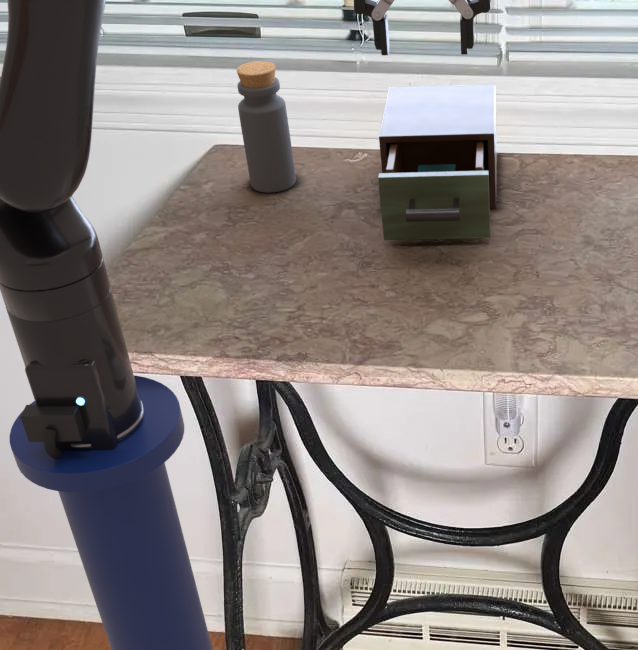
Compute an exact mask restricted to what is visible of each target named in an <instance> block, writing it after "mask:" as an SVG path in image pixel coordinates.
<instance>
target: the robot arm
mask: <svg viewBox="0 0 638 650" xmlns="http://www.w3.org/2000/svg"><path fill="white" fill-rule="evenodd" d="M106 1H107V0H7V15H8V17H7V19H8V20H7V36H6V45H5V51H4V57H3V65H2V69H1V74H0V75H1V76H0V294H1V297H2V300H3V304H4V306H5V310H6V313H7V316H8V319H9V322H10V324H11V327H12V328H11V329H12V331H13V334H14V337H15V340H16V344H17V346H18V349H19V352H20V355H21V358H22V361H23V364H24V368H25V369H24V372H25V375H26V378H27V381H28V384H29V387H30V390H31V393H32V397H33V399H34V401H35V402H36V405H30V404H26V405H25V407H24V408H23V410H22V411H23V412H22V411H21V412H22V414H21V413H20V414H21V416H20V418H21V421H22V424H23V427H24V430H25V432H26V435H27V438H28V441H29V442H44V447H45V451H46V453H47V454H48V455H49V456H51V457H52V458H53V459H58V458H60V457H61V455H62V452H61V451H73V450H80V451H83V450H114V449H115V448H116V446H117V444H118V443H119V442H120V441H122V440H124V439H125V438H127V437H129V436H130V435H131V434H133V433H134V432H135V431H136V430H137V429H138V428H139V426H140V425H141V424H142V422H143V419H144V415H145V413H144V408H143V404H142V401H141V400H140V397H139V393H138V389H137V385H136V381H135V377H134V376H135V374H134V371H133V367H132V363H131V359H130V356H129V352H128V348H127V344H126V341H125V336H124V332H123V329H122V325H121V321H120V317H119V314H118V310H117V306H116V302H115V299H114V295H113V291H112V287H111V282H110V279H109V278H110V277H109V274H108V272H107V271H108V270H107V266H106V263H105V259H104V257H103V252H102V249H101V248H102V247H101V244H100V240H99V237H98V233H97V232H96V229H95V227H94V226H93V223H91V221H90V220H89V219H88V217H87V216H86V215H85V214H84V213H83V211H82V209H81V208H80V207H79V205H78V203H77V202H76V200H75V198H74V197H73V195H74V194H75V193H76V191H77V190H78V189H79V187H80V185H81V183H82V181H83V180H84V177H85V174H86V171H87V168H88V165H89V159H90V153H91V145H92V135H93V121H94V120H93V119H94V104H95V92H96V91H95V90H96V76H97V62H98V53H99V52H98V51H99V43H100V37H101V31H102V25H103V19H104V15H105V9H106V3H107V2H106ZM448 1H449V3H450V4H452V5H453V6H454V8H455V9H456V10H457V11H458V12H459V14H460V17H459V32H460V33H459V35H460V55H463V56H464V55H465V56H466V55H469V50H472V49H473V48H474V45H475V17H476V16H478V15H480V14H486V13H488V12H489V11H490V10H491V4H492V0H448ZM394 2H395V0H376V1H375V0H353V10H354V11H353V12H355V14H357V15H359V16H361V15H364V16H366V17H368V18H370V19H371V21H372V30H373V31H372V32H373V42H374V43H373V44H374V47H375V49H376V51H380V54H381V56H389V54H390V49H391V48H390V47H391V45H390V33H389V31H390V30H389V20H388V14H387V11H388V10H389V9H390V7H391V6H392V5H393V3H394Z"/></svg>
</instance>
